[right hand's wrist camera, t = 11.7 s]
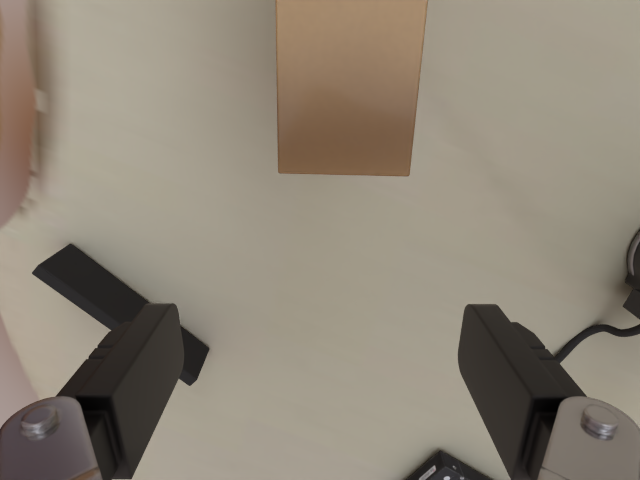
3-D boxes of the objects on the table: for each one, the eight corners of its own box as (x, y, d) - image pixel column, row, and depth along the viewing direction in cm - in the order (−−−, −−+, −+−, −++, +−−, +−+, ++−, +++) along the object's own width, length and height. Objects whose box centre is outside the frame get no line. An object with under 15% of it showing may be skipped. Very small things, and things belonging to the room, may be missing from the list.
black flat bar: (63, 251, 40) (30, 274, 36) (71, 242, 40) (38, 264, 35) (202, 355, 45) (188, 387, 40) (210, 348, 45) (197, 379, 40)
